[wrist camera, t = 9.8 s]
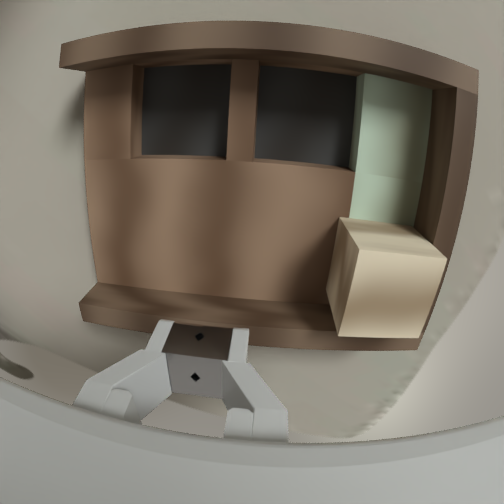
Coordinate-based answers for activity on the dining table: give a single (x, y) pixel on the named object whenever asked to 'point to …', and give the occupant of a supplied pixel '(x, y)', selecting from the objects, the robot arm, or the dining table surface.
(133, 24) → the dining table surface
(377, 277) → the birch block
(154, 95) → the box
